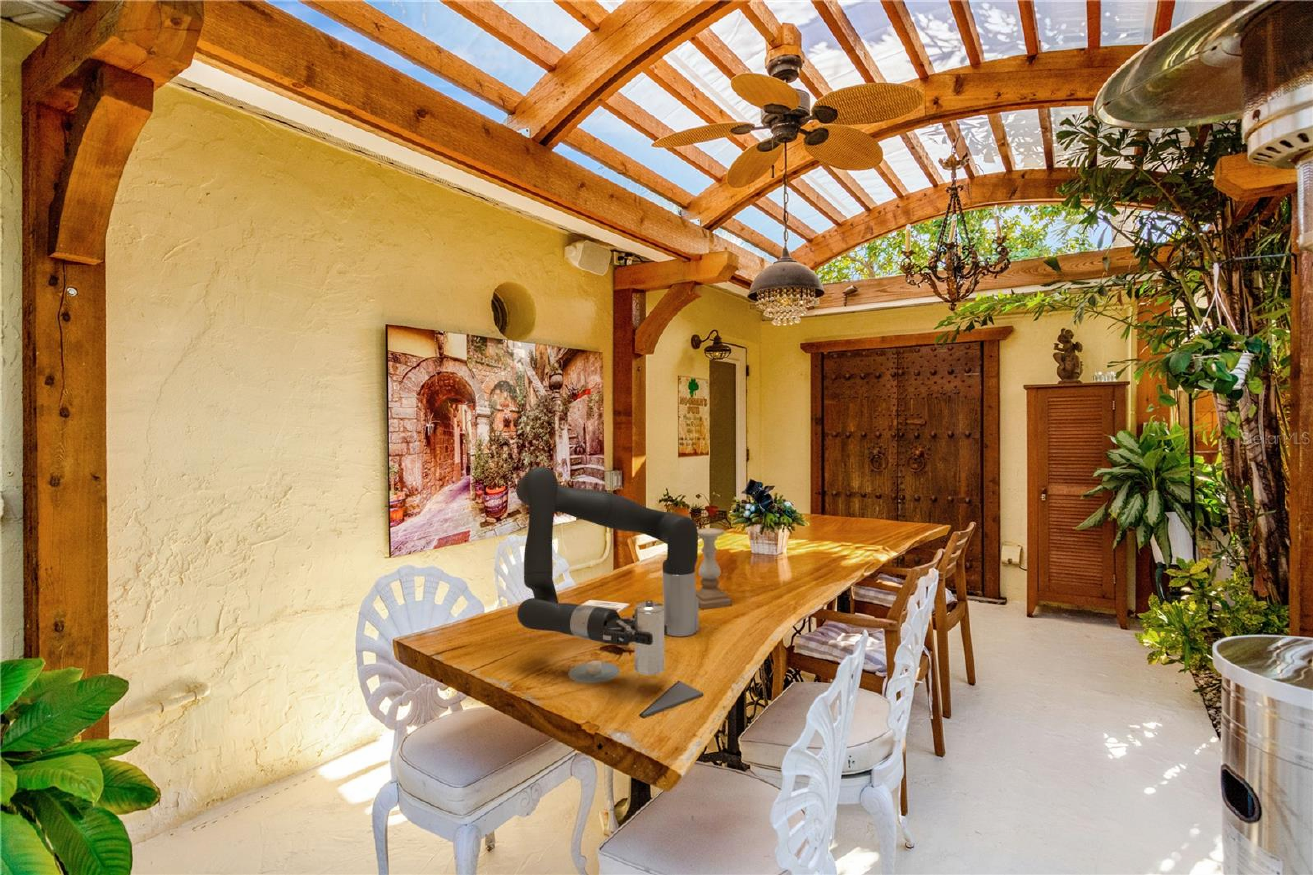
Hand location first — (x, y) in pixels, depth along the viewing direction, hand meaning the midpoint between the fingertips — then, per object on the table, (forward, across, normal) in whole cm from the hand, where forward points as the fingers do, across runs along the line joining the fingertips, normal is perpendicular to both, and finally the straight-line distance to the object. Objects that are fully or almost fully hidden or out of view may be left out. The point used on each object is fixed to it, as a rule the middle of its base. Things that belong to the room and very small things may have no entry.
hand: (659, 634), depth 132 cm
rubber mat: (-2, 0, +13) cm, 13 cm away
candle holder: (-17, +68, +13) cm, 71 cm away
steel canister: (-2, 0, +8) cm, 8 cm away
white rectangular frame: (-46, +45, +14) cm, 66 cm away
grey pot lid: (-19, +2, +14) cm, 23 cm away
